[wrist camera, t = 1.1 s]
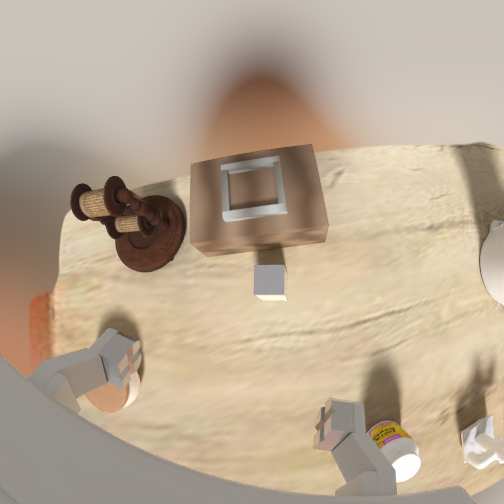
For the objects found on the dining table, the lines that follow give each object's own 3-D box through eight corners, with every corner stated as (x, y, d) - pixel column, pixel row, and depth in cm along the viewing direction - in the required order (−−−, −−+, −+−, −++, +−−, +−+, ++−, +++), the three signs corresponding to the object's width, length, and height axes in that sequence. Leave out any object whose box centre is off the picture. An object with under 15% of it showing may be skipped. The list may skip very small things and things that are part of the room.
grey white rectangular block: (287, 275, 45) (284, 264, 38) (287, 300, 44) (284, 294, 37) (262, 275, 46) (254, 265, 38) (262, 300, 45) (253, 294, 37)
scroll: (191, 197, 52) (140, 135, 33) (184, 274, 49) (118, 240, 30) (128, 204, 55) (67, 157, 36) (118, 273, 51) (44, 245, 32)
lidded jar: (124, 339, 47) (93, 339, 38) (160, 382, 44) (131, 391, 35) (97, 372, 47) (65, 376, 38) (129, 414, 43) (100, 425, 34)
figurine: (448, 433, 32) (490, 460, 18) (486, 407, 31) (532, 423, 17) (452, 460, 30) (488, 490, 16) (488, 434, 29) (530, 454, 15)
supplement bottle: (388, 412, 36) (415, 437, 24) (406, 435, 34) (435, 464, 22) (356, 436, 36) (372, 470, 24) (375, 459, 34) (394, 495, 22)
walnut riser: (311, 169, 50) (311, 138, 40) (324, 242, 46) (329, 221, 37) (205, 185, 52) (187, 159, 43) (207, 256, 49) (186, 240, 40)
